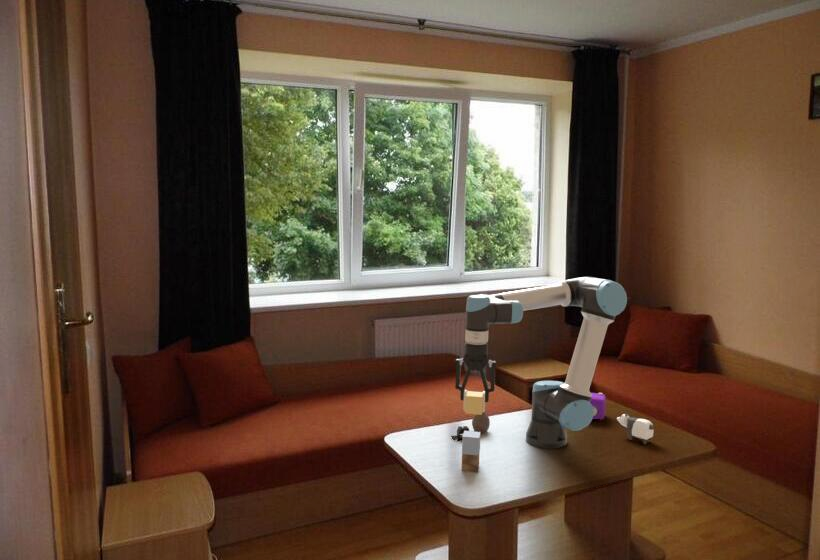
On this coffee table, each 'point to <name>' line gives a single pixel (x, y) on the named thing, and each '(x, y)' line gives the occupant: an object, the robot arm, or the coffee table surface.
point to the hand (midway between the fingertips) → (474, 410)
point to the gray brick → (471, 443)
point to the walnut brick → (470, 462)
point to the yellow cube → (473, 402)
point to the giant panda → (637, 427)
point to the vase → (481, 422)
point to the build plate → (460, 431)
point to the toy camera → (598, 405)
